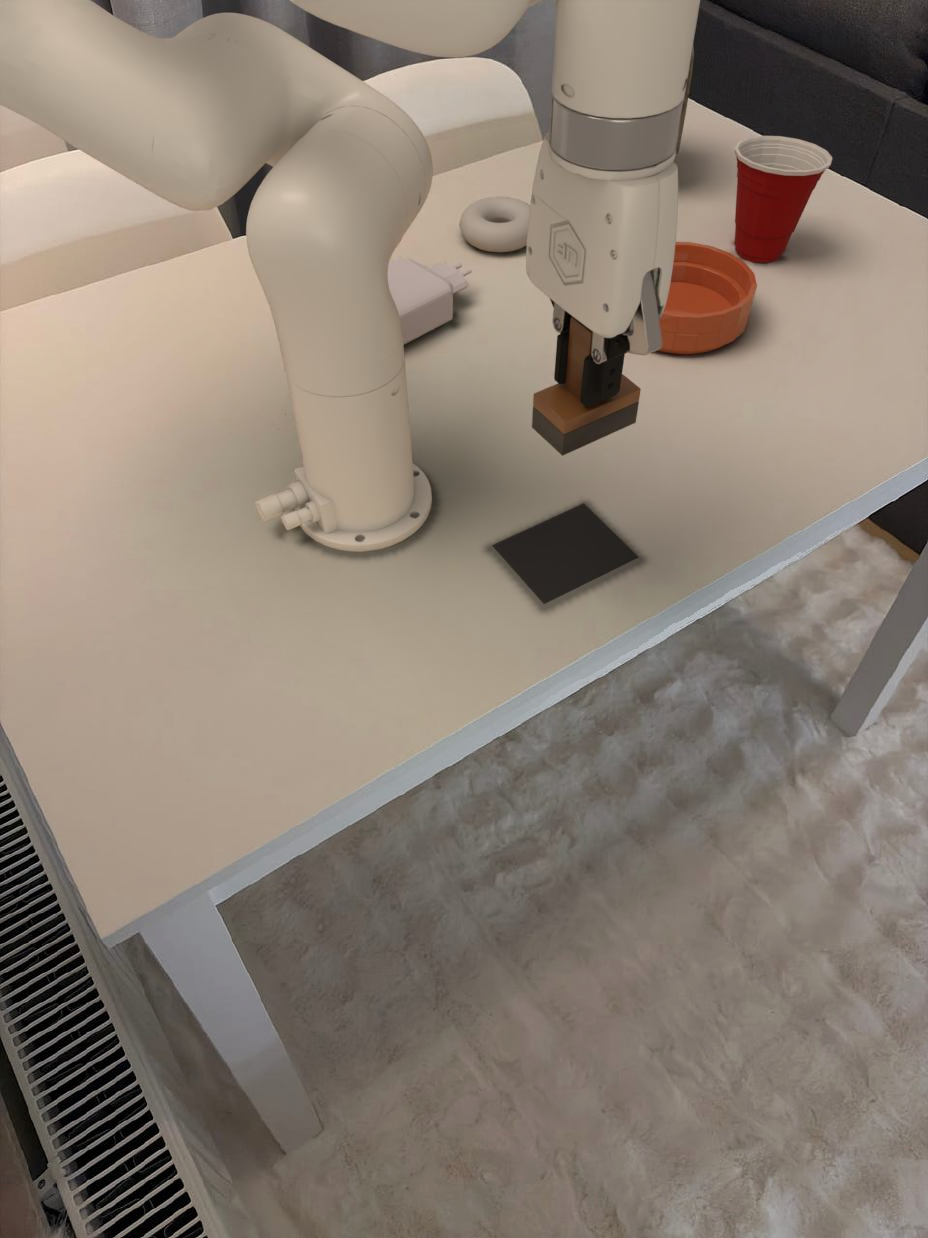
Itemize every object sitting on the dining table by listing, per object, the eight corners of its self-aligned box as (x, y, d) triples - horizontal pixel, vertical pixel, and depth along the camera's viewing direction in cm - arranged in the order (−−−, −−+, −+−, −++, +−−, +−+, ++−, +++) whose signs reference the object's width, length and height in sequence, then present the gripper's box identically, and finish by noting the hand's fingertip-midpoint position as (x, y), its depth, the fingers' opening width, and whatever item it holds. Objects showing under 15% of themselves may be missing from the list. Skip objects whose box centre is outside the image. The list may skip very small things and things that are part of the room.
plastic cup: (817, 242, 113) (847, 141, 104) (786, 282, 107) (815, 179, 98) (733, 219, 117) (755, 120, 108) (700, 257, 111) (720, 156, 102)
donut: (554, 232, 116) (489, 209, 119) (556, 206, 113) (489, 182, 117) (509, 267, 111) (443, 241, 114) (511, 240, 108) (443, 214, 112)
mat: (543, 606, 76) (544, 603, 76) (492, 548, 81) (492, 545, 80) (638, 560, 80) (638, 556, 79) (583, 506, 84) (584, 502, 84)
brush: (562, 456, 68) (571, 349, 61) (531, 427, 70) (536, 321, 63) (635, 422, 70) (652, 316, 63) (603, 396, 73) (616, 290, 65)
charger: (493, 302, 106) (392, 355, 99) (440, 271, 110) (341, 320, 104) (493, 264, 102) (389, 316, 96) (438, 234, 106) (336, 282, 100)
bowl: (668, 374, 96) (675, 332, 93) (582, 306, 105) (586, 266, 101) (774, 329, 101) (786, 288, 98) (685, 268, 110) (692, 228, 106)
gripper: (485, 94, 56) (484, 350, 71) (653, 198, 48) (613, 467, 62) (582, 67, 59) (562, 320, 73) (759, 161, 50) (698, 428, 64)
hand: (586, 386), depth 67 cm, fingers closed on brush, 2 cm apart
